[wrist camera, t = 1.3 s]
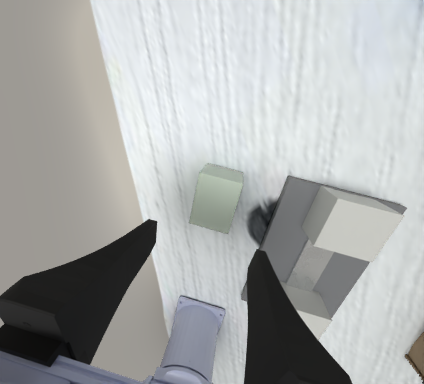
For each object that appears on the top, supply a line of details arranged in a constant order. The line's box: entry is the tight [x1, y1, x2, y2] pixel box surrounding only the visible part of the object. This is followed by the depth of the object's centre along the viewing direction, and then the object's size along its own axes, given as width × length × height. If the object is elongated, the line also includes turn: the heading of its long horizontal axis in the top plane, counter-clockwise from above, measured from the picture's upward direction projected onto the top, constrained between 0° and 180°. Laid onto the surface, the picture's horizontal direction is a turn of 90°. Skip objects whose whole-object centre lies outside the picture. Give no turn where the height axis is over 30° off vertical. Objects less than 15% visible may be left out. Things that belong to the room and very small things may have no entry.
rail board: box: [241, 176, 407, 318], centre depth 24 cm, size 20×13×1 cm, turn 167°
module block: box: [189, 163, 243, 234], centre depth 22 cm, size 6×4×5 cm
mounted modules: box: [280, 186, 404, 340], centre depth 22 cm, size 20×6×4 cm, turn 167°
